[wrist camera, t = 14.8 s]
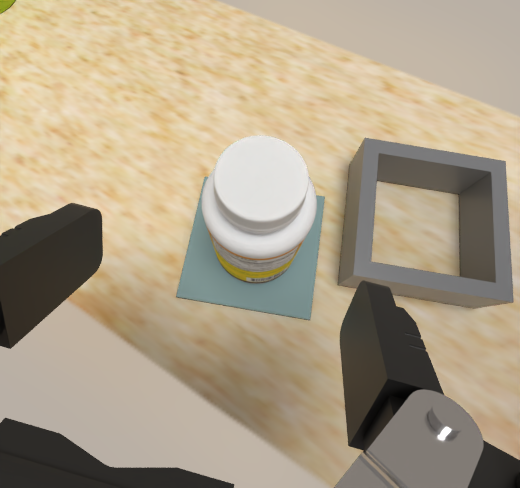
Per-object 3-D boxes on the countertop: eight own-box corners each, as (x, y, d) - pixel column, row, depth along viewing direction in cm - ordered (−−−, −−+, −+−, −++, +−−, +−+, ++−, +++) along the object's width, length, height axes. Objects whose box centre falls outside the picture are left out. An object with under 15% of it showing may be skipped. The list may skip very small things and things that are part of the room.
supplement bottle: (247, 195, 24) (248, 95, 15) (310, 238, 24) (355, 163, 14) (198, 254, 23) (164, 187, 13) (264, 302, 22) (278, 269, 12)
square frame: (471, 184, 26) (505, 161, 23) (474, 308, 23) (513, 302, 20) (349, 164, 26) (365, 137, 23) (337, 284, 23) (353, 274, 20)
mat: (323, 199, 25) (324, 196, 25) (309, 320, 22) (310, 319, 22) (205, 179, 25) (204, 176, 25) (177, 297, 23) (176, 296, 22)
